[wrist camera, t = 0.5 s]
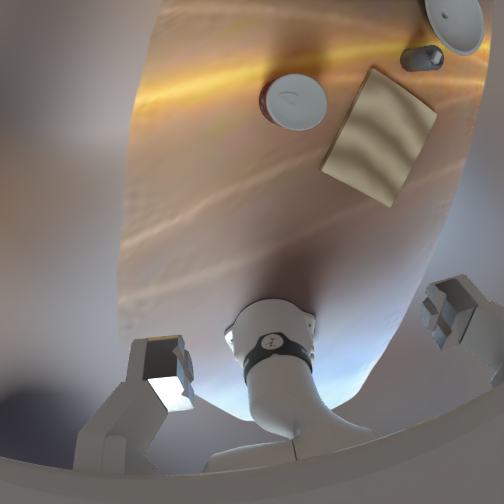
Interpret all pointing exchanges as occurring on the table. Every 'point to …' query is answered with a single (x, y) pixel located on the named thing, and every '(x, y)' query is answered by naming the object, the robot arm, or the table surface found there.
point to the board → (379, 139)
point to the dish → (457, 24)
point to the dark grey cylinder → (422, 58)
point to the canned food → (294, 102)
